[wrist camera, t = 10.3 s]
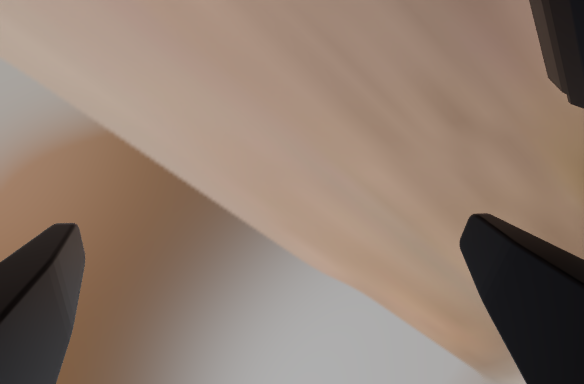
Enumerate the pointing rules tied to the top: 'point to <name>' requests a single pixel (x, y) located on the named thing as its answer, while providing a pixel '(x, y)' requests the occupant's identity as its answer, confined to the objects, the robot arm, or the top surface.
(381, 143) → the top surface
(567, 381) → the robot arm
